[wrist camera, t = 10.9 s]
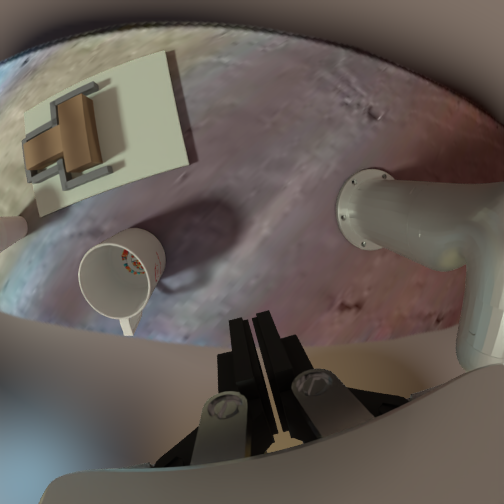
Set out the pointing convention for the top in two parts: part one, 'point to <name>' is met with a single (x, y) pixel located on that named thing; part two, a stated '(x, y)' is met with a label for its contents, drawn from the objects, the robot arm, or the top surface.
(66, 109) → the t block
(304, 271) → the top surface
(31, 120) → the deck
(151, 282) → the mug
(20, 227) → the smoothie
